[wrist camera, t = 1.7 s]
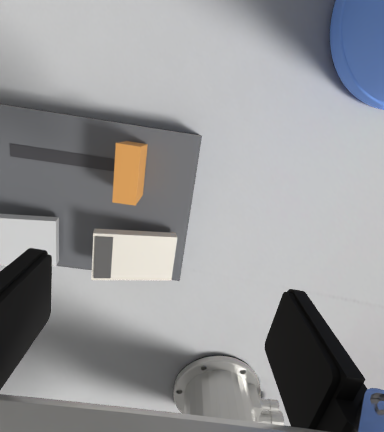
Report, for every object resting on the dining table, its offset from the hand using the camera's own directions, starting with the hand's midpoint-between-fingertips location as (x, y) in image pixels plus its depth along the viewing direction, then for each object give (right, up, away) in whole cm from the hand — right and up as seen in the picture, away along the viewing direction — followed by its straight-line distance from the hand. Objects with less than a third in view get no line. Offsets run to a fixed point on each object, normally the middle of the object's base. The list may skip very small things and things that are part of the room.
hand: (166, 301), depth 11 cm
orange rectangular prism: (-5, +8, +15) cm, 18 cm away
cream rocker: (-5, -1, +16) cm, 17 cm away
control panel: (-10, +6, +20) cm, 23 cm away
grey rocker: (-17, +1, +16) cm, 23 cm away
